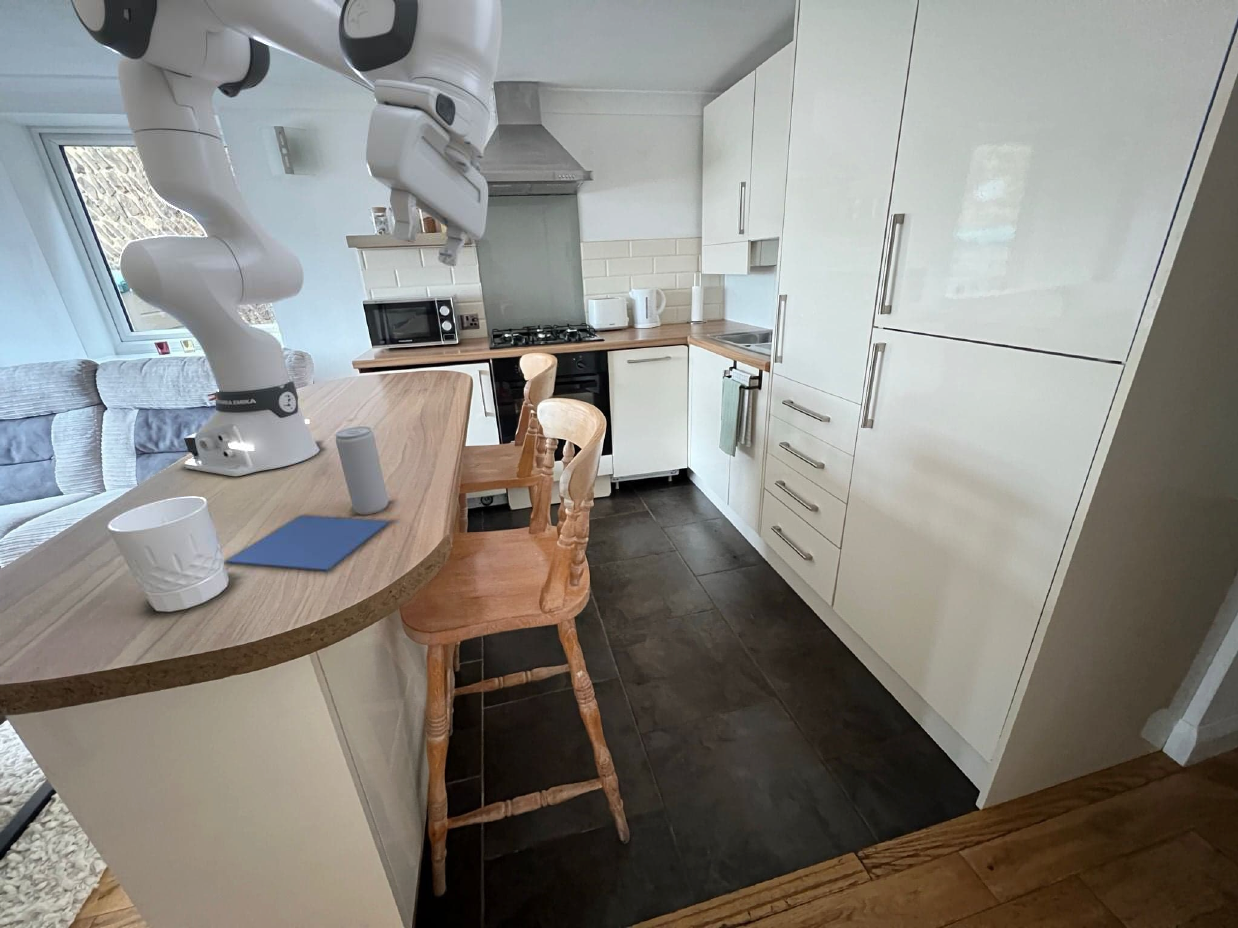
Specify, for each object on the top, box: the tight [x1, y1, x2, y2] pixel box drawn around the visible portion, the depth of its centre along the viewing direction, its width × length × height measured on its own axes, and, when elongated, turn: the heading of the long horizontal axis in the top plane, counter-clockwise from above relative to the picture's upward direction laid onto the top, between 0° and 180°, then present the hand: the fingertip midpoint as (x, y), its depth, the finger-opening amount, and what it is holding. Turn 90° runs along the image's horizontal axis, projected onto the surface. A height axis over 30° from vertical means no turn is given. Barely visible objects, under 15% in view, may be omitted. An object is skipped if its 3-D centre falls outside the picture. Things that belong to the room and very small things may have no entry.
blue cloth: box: [225, 515, 389, 572], centre depth 66 cm, size 14×12×1 cm
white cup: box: [107, 496, 230, 613], centre depth 54 cm, size 8×8×10 cm
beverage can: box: [335, 426, 389, 516], centre depth 72 cm, size 5×5×12 cm
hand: (426, 253), depth 60 cm, fingers open, 8 cm apart
